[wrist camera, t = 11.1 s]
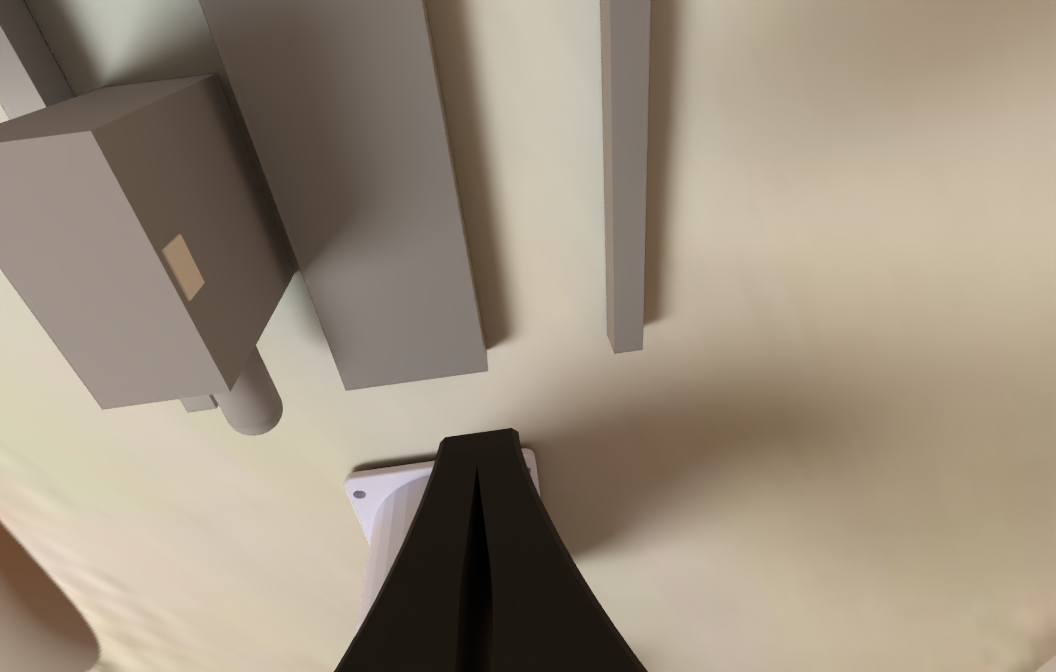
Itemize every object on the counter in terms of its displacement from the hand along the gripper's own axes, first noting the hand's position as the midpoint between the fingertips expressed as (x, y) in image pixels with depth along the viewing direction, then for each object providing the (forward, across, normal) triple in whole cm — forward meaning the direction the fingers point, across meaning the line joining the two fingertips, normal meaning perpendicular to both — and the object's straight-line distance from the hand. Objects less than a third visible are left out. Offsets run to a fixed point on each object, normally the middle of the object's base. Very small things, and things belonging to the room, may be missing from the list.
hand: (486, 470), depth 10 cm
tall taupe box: (+10, +8, -1) cm, 12 cm away
